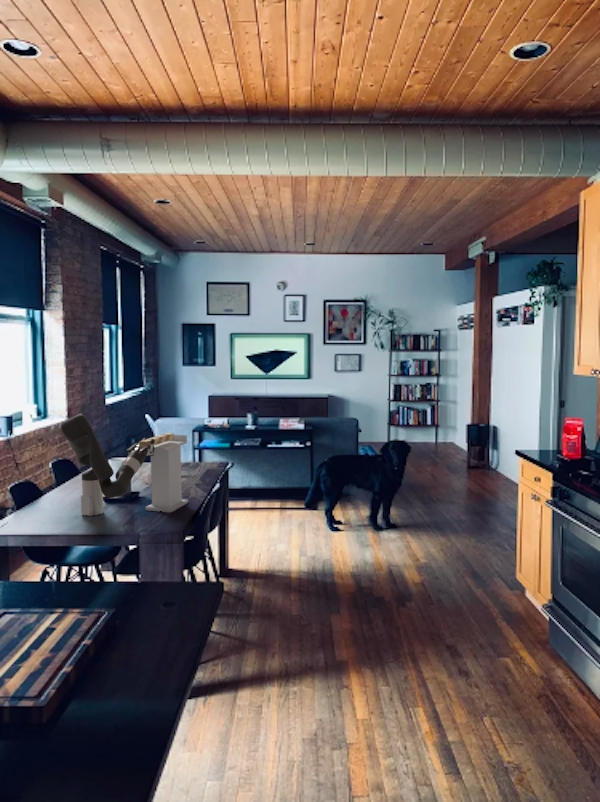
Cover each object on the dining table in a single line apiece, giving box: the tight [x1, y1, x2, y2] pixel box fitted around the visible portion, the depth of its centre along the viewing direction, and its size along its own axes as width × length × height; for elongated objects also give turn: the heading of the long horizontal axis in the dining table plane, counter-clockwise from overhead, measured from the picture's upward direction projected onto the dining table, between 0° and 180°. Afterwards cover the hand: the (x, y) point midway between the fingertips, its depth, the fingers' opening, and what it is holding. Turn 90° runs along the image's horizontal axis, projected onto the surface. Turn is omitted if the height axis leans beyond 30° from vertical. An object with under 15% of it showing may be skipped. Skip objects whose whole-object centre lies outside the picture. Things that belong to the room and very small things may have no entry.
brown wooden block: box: [138, 432, 174, 448], centre depth 295 cm, size 26×4×3 cm, turn 163°
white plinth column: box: [144, 433, 189, 513], centre depth 305 cm, size 22×14×35 cm, turn 163°
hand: (149, 439), depth 288 cm, fingers closed on brown wooden block, 3 cm apart
